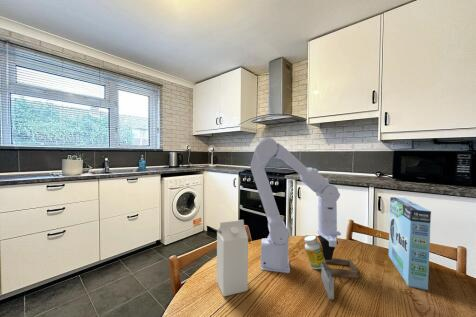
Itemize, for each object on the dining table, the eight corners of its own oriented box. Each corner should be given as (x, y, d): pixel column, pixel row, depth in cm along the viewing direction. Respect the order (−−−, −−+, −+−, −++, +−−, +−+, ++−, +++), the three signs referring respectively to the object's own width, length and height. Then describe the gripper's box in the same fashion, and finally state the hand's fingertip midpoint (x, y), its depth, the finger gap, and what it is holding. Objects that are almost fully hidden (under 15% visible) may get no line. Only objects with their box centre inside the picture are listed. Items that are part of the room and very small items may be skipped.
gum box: (388, 256, 76) (389, 196, 76) (404, 259, 74) (406, 198, 74) (407, 286, 59) (409, 208, 58) (430, 291, 57) (431, 210, 56)
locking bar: (328, 299, 53) (329, 280, 53) (321, 277, 62) (321, 261, 62) (333, 299, 53) (333, 280, 53) (325, 278, 62) (325, 262, 62)
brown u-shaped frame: (325, 274, 64) (325, 268, 64) (320, 261, 72) (320, 256, 72) (359, 279, 62) (359, 272, 62) (350, 265, 70) (350, 259, 70)
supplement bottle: (316, 259, 72) (308, 233, 73) (329, 263, 68) (321, 235, 68) (307, 267, 69) (299, 240, 69) (321, 271, 65) (312, 242, 65)
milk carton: (216, 281, 60) (217, 218, 60) (238, 276, 63) (239, 216, 62) (223, 297, 53) (223, 226, 53) (247, 291, 56) (248, 223, 56)
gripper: (347, 226, 60) (347, 272, 60) (334, 213, 74) (334, 249, 74) (322, 225, 61) (322, 269, 61) (314, 212, 75) (314, 248, 75)
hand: (327, 258), depth 68 cm, fingers closed, pressing on supplement bottle
